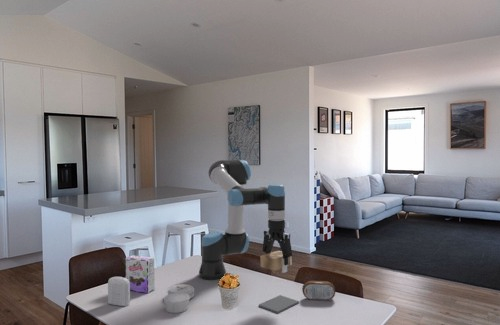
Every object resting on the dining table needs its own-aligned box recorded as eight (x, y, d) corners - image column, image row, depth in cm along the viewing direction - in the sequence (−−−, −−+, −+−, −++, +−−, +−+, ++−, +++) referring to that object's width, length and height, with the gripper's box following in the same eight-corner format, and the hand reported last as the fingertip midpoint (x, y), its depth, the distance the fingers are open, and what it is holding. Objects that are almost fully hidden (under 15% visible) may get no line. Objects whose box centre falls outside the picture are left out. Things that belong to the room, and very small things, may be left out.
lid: (199, 296, 175) (199, 286, 175) (178, 305, 166) (178, 294, 166) (183, 290, 184) (183, 280, 184) (162, 297, 174) (161, 287, 174)
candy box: (125, 290, 184) (124, 257, 184) (133, 286, 190) (132, 254, 190) (147, 293, 179) (147, 260, 179) (155, 289, 185) (154, 257, 184)
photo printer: (131, 303, 168) (131, 276, 167) (125, 307, 164) (125, 279, 163) (112, 301, 171) (112, 274, 171) (106, 304, 167) (106, 277, 166)
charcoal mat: (258, 306, 163) (258, 304, 163) (280, 296, 174) (280, 295, 174) (277, 313, 155) (277, 311, 155) (299, 303, 166) (299, 301, 166)
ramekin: (161, 306, 164) (161, 294, 164) (186, 302, 169) (186, 290, 169) (166, 316, 154) (166, 303, 154) (192, 311, 159) (192, 299, 158)
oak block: (274, 270, 157) (291, 264, 165) (274, 259, 157) (291, 253, 165) (260, 266, 163) (278, 261, 171) (260, 255, 162) (278, 250, 171)
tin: (334, 298, 171) (334, 280, 171) (335, 301, 168) (335, 283, 168) (302, 297, 173) (302, 280, 172) (302, 300, 169) (302, 282, 169)
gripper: (253, 217, 169) (254, 267, 169) (289, 223, 154) (290, 277, 154) (264, 215, 174) (265, 263, 174) (300, 220, 159) (301, 273, 160)
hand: (277, 270), depth 164 cm, fingers closed on oak block, 8 cm apart
